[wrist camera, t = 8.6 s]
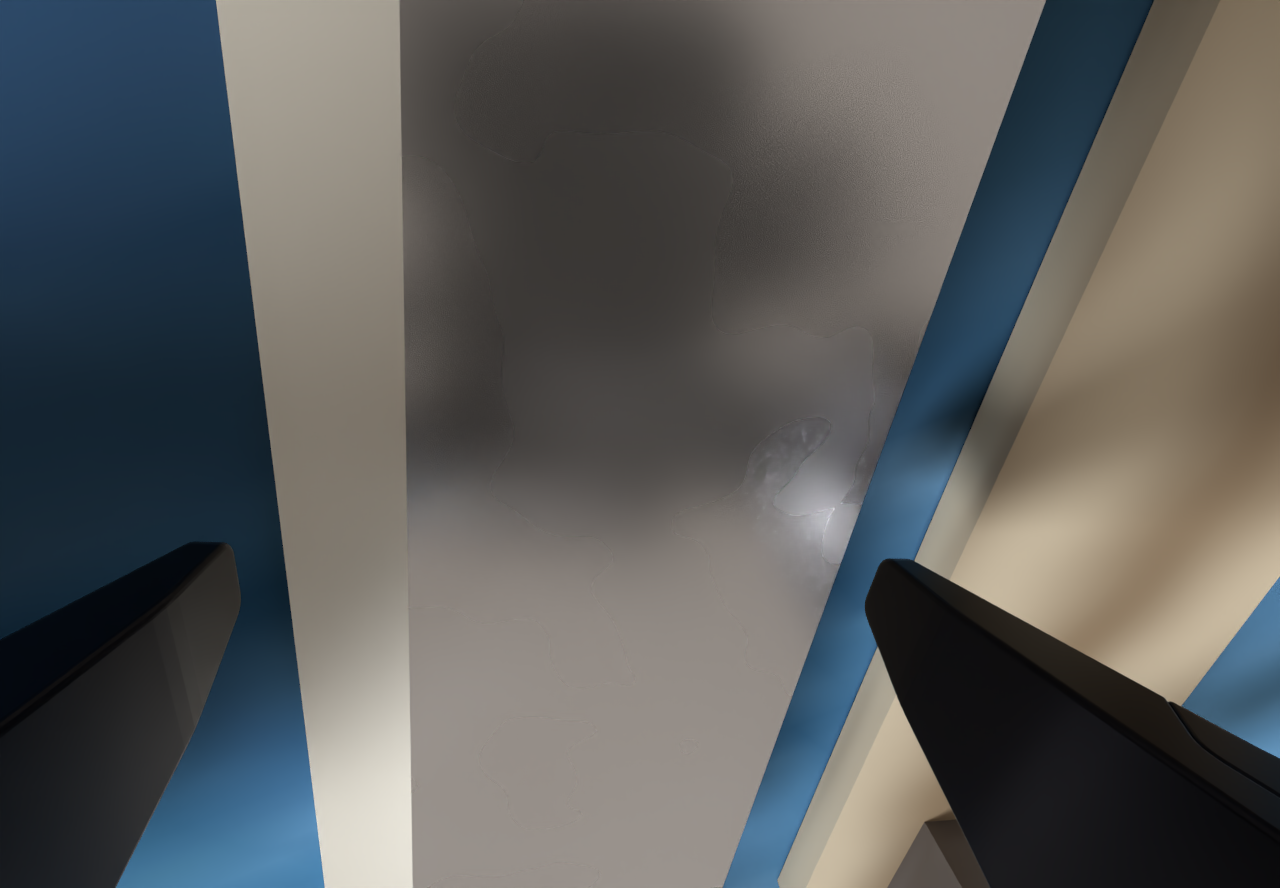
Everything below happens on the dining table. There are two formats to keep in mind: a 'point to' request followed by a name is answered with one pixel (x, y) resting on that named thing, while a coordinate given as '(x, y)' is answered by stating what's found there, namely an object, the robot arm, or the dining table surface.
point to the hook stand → (1108, 431)
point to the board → (334, 391)
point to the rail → (654, 391)
